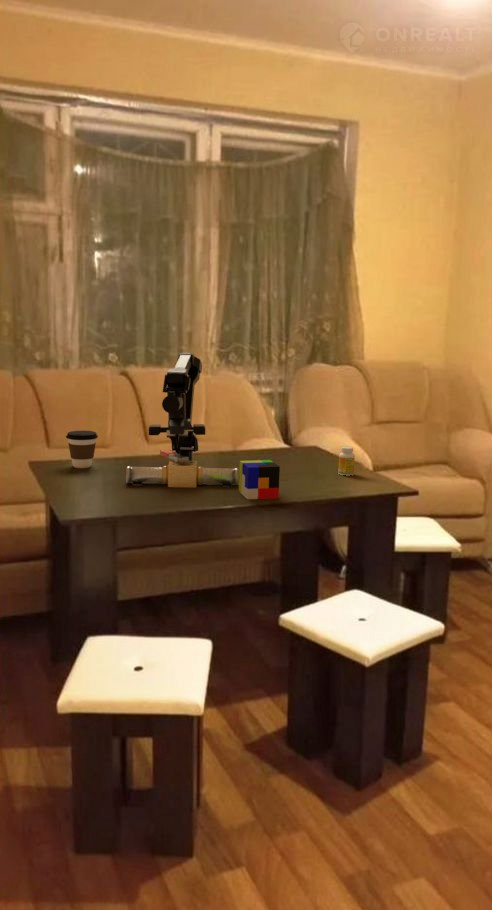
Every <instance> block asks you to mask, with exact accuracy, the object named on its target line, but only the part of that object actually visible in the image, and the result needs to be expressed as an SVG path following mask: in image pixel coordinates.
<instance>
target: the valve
mask: <svg viewBox="0 0 492 910" xmlns="http://www.w3.org/2000/svg"><path fill="white" fill-rule="evenodd" d="M125 468H126V469H125V481H126V483H127V484H130V483H132V484H131V486H132V487H133V486H134V487H142V486H143V483H146V484H147V483H149V484H150V483H154V484H155V483H156V484H157V483H158V484H159V483H161V484H162V485H167V488H197V486H203V484H209V485H210V484H215V485H216V484H219V485H220V484H221V485H222V488H232V487H233V486H234V485H236V486H237V485H238V486H239V467H233V468H227V467H225V468H221V467H220V468H218V467H213V468H212V467H203V466H202V465H201V466H198V461H197V460H193V461H188V463H178V462H177V461H175V460H169V462H168V464H167V465H162V467H161V466H159V467H157V466H131V465H127V466H126V467H125Z"/></svg>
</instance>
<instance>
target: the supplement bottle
mask: <svg viewBox="0 0 492 910" xmlns="http://www.w3.org/2000/svg"><path fill="white" fill-rule="evenodd" d="M355 456H356V455H355V454H354V447H352V446H342V447H341V452H340V454H339V455H338V470H337V471H338V472H337V473H338V475H339V474H340V476H343V475H346V477H350V475H352V476H354V474H355V459H356V457H355Z"/></svg>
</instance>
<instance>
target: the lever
mask: <svg viewBox="0 0 492 910" xmlns="http://www.w3.org/2000/svg"><path fill="white" fill-rule="evenodd" d="M159 456H161V457H163V458H166V459H171V460H172V461H177V462H178V463H188V457H186V456H182V455H179V454H177V453H176V452H175V451H172V449H160V450H159Z"/></svg>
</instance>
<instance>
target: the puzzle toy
mask: <svg viewBox="0 0 492 910" xmlns="http://www.w3.org/2000/svg"><path fill="white" fill-rule="evenodd" d="M280 469H281V466H280V465H278V464H276V462H274V461H272V460H271V459H257V460H255V459H254V460H239V467H238V492H239V493H240V494H241V495H242V496H243V497H244V498H245V499H247V500H263V499H265V500H266V499H267V500H268V499H279V497H280V496H279V495H280V494H279V493H280V474H281V473H280V471H281V470H280Z"/></svg>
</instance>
